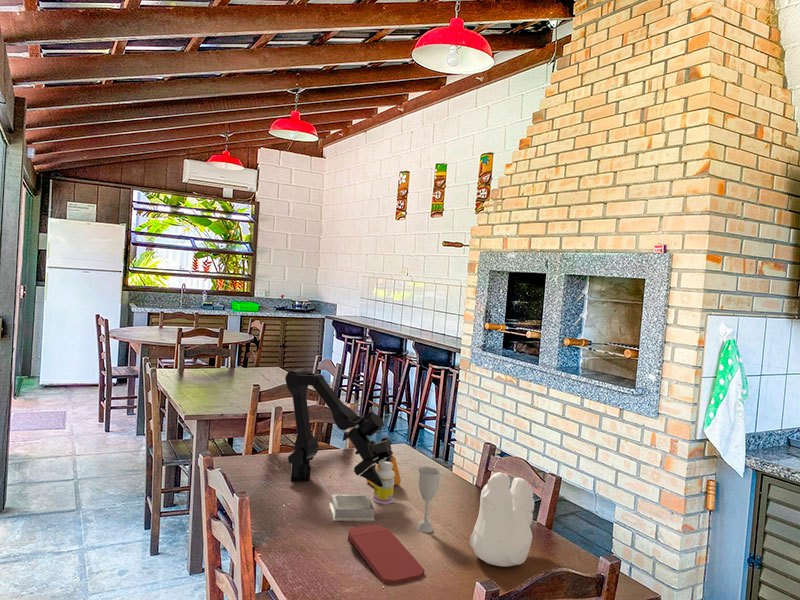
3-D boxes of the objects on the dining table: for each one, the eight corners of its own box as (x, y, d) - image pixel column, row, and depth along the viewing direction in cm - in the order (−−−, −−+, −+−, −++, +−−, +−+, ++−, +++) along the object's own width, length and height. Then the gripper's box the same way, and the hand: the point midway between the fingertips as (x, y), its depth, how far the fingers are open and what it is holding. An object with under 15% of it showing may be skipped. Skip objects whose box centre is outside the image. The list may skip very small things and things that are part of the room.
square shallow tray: (333, 521, 177) (334, 509, 177) (329, 504, 190) (330, 493, 190) (375, 521, 180) (376, 509, 180) (368, 504, 192) (369, 494, 192)
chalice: (439, 527, 180) (444, 469, 179) (433, 535, 173) (438, 476, 173) (416, 522, 182) (421, 465, 181) (410, 530, 176) (415, 471, 175)
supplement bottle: (372, 496, 200) (375, 459, 200) (391, 497, 201) (394, 460, 200) (373, 504, 193) (376, 466, 193) (393, 505, 194) (396, 467, 194)
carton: (424, 590, 150) (378, 535, 171) (427, 572, 149) (381, 520, 170) (383, 600, 143) (341, 542, 164) (386, 582, 142) (343, 526, 163)
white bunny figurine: (495, 581, 149) (505, 486, 149) (455, 554, 162) (463, 467, 161) (558, 560, 164) (567, 474, 163) (517, 538, 177) (524, 457, 176)
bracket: (391, 479, 219) (394, 448, 219) (400, 486, 212) (402, 454, 212) (365, 481, 214) (368, 449, 214) (373, 488, 208) (376, 455, 207)
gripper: (365, 436, 190) (392, 477, 185) (390, 425, 206) (416, 462, 202) (342, 455, 193) (368, 495, 189) (369, 443, 210) (393, 480, 206)
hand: (388, 482), depth 196 cm, fingers open, 9 cm apart
